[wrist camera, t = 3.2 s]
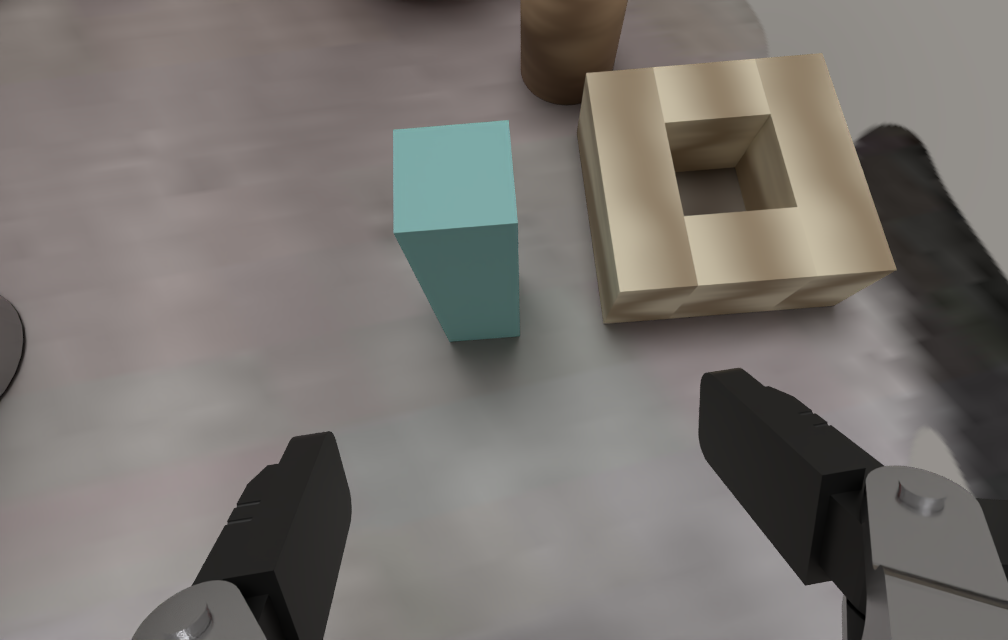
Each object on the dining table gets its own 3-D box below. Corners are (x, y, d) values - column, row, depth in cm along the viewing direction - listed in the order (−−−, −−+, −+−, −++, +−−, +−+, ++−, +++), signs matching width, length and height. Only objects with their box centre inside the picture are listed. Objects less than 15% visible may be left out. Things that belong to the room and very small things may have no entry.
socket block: (603, 323, 28) (619, 291, 24) (576, 133, 33) (586, 73, 28) (833, 305, 28) (896, 269, 24) (778, 116, 32) (822, 53, 28)
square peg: (449, 341, 29) (393, 233, 16) (446, 276, 30) (393, 129, 17) (519, 336, 28) (517, 223, 16) (514, 271, 30) (508, 120, 17)
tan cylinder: (507, 90, 34) (502, -43, 25) (538, 23, 36) (543, -123, 27) (596, 115, 33) (622, -14, 24) (623, 45, 35) (656, -99, 26)
